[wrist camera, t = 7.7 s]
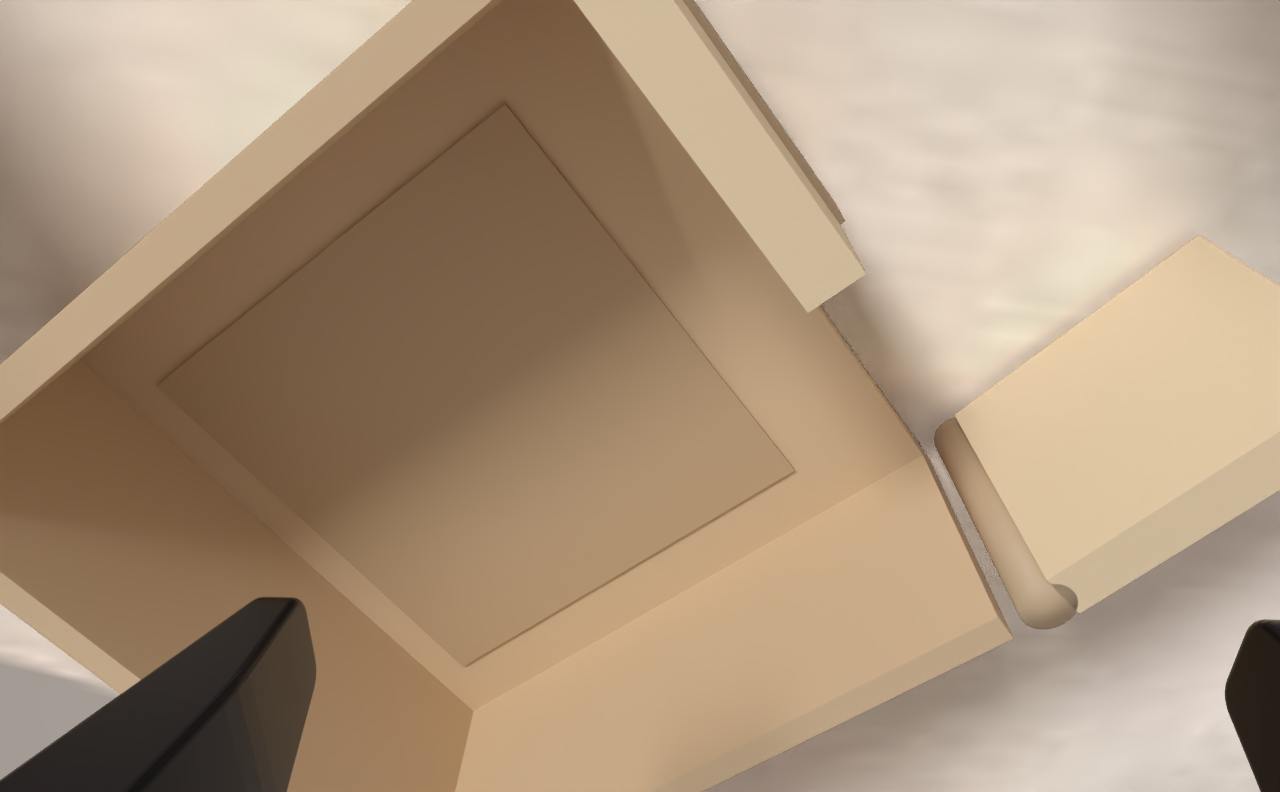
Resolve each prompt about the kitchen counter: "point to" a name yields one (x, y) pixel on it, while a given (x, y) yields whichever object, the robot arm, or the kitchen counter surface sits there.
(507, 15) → the carton
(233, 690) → the robot arm
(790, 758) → the kitchen counter surface
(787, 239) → the flap near
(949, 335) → the kitchen counter surface
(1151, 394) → the flap far
